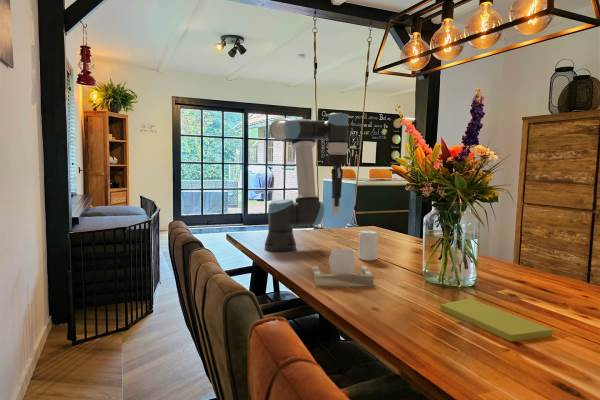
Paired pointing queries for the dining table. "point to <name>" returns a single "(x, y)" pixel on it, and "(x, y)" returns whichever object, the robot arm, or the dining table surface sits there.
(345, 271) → the mug
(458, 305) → the flat olive board
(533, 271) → the dining table surface
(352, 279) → the dock
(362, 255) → the beverage can
